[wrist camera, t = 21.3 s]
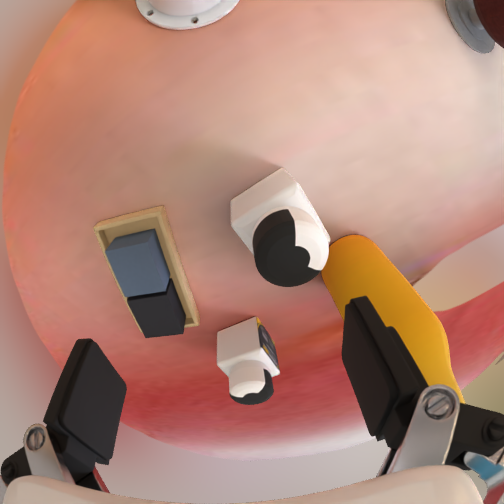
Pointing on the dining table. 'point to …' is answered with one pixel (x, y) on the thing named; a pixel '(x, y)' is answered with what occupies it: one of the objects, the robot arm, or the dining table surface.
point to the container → (281, 230)
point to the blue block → (138, 263)
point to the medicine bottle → (248, 361)
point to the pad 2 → (159, 312)
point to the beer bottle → (389, 303)
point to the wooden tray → (161, 224)
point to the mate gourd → (478, 22)
